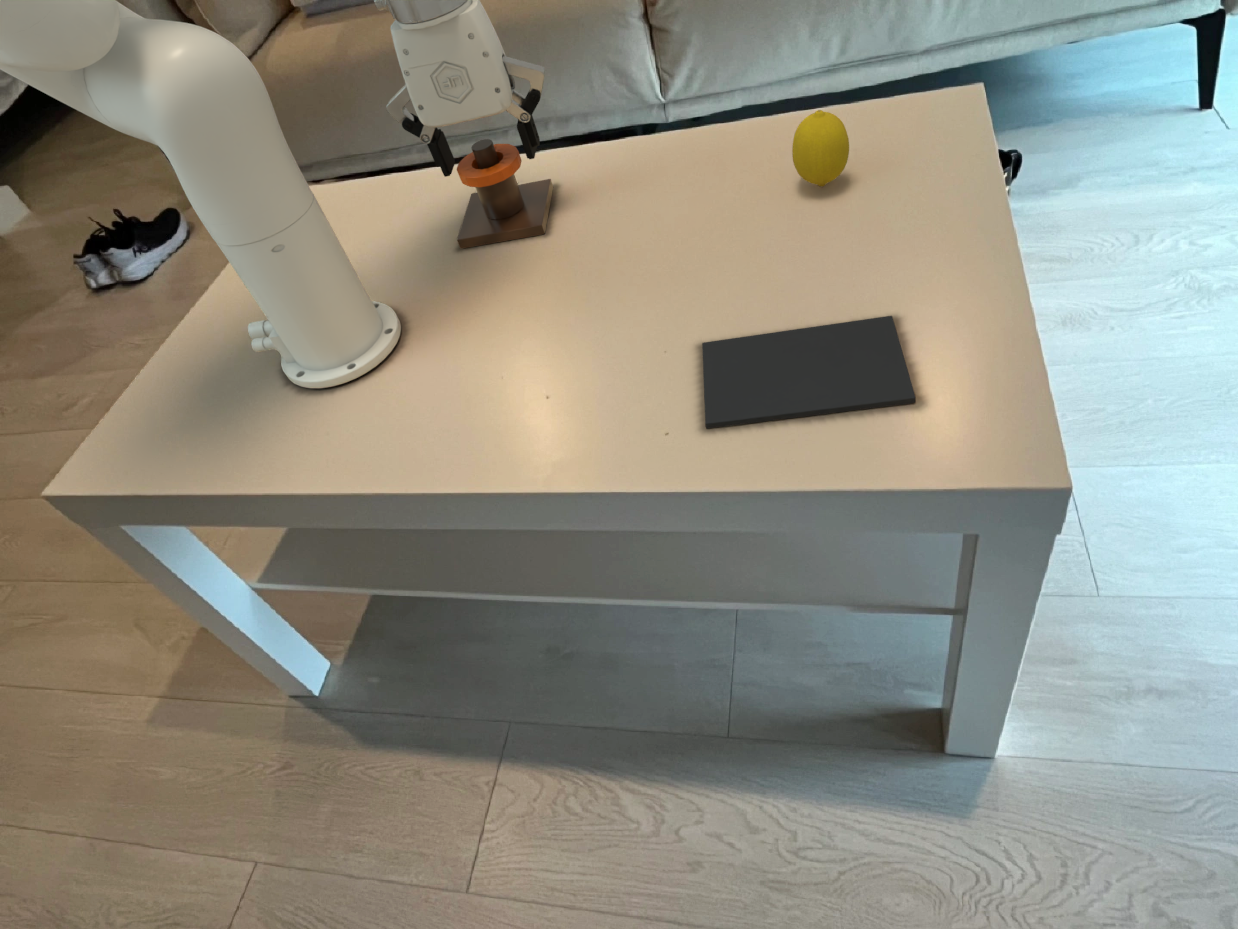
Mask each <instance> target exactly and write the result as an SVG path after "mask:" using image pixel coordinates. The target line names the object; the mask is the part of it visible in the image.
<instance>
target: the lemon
mask: <svg viewBox="0 0 1238 929" xmlns="http://www.w3.org/2000/svg"><path fill="white" fill-rule="evenodd" d="M791 148H792V150H791V154H792V163H793V165H794V169H795V170H796V172H797V174H798V176H800V178H801V179H803V180H804V181H806V182H807V183H809V184H812V185H817V186H819V187H820V188H823V187H825V186H826V185H827V184H828V183H831V182H833V181H835V180H836V179H838V177H839V176H840V175H841V174H842V173H843V171H844V170H845V169H846V166H847V163H848V161H849V155H850V139H849V135H848V131H847V129H846V125H844V122H843V121H842V119H841V118H839V116H838V115H836V114H834V113H831V112H829V111H823V110H822V109H818V110H815V112H813V113H810V114H808V115H807V116H806V117H805V118H803V120H801V121H800V122H799V124H798V125H797V127H796V130H795V132H794V135H793V139H792V147H791Z"/></svg>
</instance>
